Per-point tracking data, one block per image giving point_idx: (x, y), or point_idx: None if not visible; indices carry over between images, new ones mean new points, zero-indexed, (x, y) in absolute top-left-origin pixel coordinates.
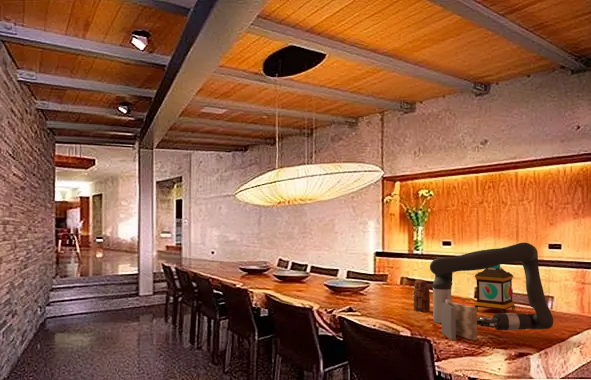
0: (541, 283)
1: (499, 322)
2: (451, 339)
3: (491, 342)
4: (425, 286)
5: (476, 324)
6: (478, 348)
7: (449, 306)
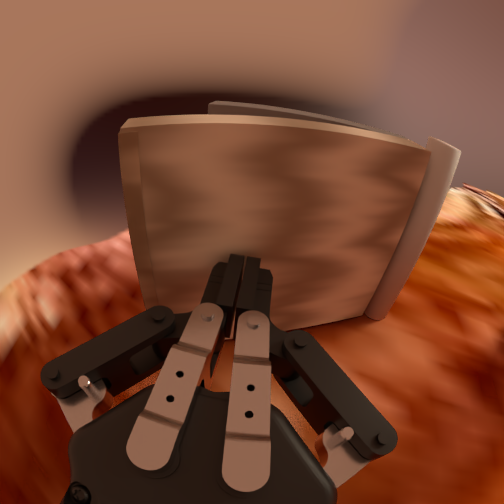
0: None
1: (70, 491)
2: None
3: None
4: None
5: (137, 269)
6: (60, 273)
7: (270, 107)
